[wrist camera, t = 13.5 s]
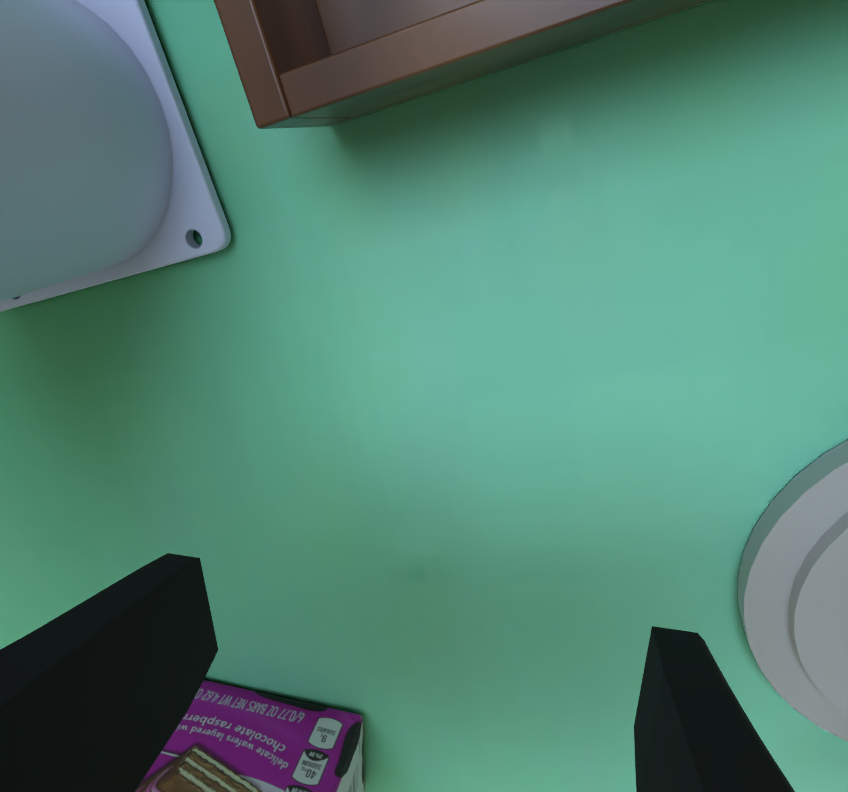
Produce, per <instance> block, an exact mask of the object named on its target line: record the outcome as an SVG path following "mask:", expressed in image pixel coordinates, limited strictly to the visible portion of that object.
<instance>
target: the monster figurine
mask: <svg viewBox="0 0 848 792" xmlns="http://www.w3.org/2000/svg"><path fill="white" fill-rule="evenodd" d="M738 605H739V610H740V614H741V619H742V623H743V627H744V630H745V633H746V637H747V640H748V643H749V646H750V648H751V650H752V652H753V655H754V657H755V659H756V661H757V664H758V666H759V668H760V670H761V671H762V672H763V674H764V675H765V677H766V678H767V679H768V681H769V682H770V684H771V685H772V686H773V688H774V689H775V690H776V691H777V692H778V693H779V694H780V695H781V696H782V697H783V698H784V699H785V700H786V701H787V702H788V703H789V704H790V705H791V706H792V707H793V708H794V709H795V710H797V711H798V712H799V713H801V714H802V715H803V716H805V717H806V718H808V719H809V720H810V721H812V722H813V723H814V724H816V725H817V726H819V727H821V728H823V729H825V730H826V731H828V732H830V733H832V734H834V735H836V736H838V737H839V738H841V739H843V740H845V741H848V440H846V441H845V442H843V443H841V444H840V445H838V446H836V447H834V448H833V449H831V450H829V451H828V452H826V453H824V454H823V455H822V456H820V457H819V458H818V459H817V460H815V461H814V462H813V463H811V464H810V465H809V466H808V467H806V468H805V469H804V470H803V471H801V472H800V473H799V474H797V475H796V476H795V477H794V478H793V479H792V480H791V481H790V482H789V483H788V484H787V485H786V486H785V487H784V488H783V490H782V491H781V492H780V493H779V494H778V495H777V496H776V497H775V498H774V499H773V500H772V501H771V503H770V504H769V506H768V507H767V509H766V510H765V512H764V513H763V515H762V516H761V517H760V519H759V520H758V522H757V523H756V525H755V526H754V529H753V531H752V533H751V536H750V538H749V540H748V542H747V545H746V547H745V549H744V551H743V556H742V561H741V565H740V570H739V574H738Z"/></svg>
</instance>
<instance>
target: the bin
mask: <svg viewBox="0 0 848 792" xmlns="http://www.w3.org/2000/svg"><path fill="white" fill-rule="evenodd" d="M710 1H713V0H214V2H215V5H216V8H217V11H218V14H219V17H220V20H221V23H222V26H223V29H224V32H225V34H226V37H227V40H228V43H229V46H230V49H231V52H232V55H233V58H234V61H235V64H236V67H237V70H238V73H239V76H240V79H241V82H242V84H243V87H244V90H245V93H246V96H247V99H248V102H249V105H250V108H251V111H252V114H253V117H254V120H255V123H256V126H257V127H258V128H260V129H269V128H297V127H323V126H325V127H327V126H334V125H337V124H340V123H343V122H346V121H349V120H352V119H355V118H358V117H361V116H364V115H367V114H370V113H373V112H376V111H379V110H383V109H386V108H389V107H392V106H395V105H398V104H401V103H404V102H407V101H410V100H413V99H416V98H419V97H422V96H425V95H428V94H431V93H434V92H437V91H440V90H443V89H446V88H449V87H452V86H455V85H458V84H461V83H464V82H467V81H470V80H473V79H477V78H480V77H483V76H486V75H489V74H492V73H495V72H498V71H501V70H504V69H507V68H510V67H513V66H516V65H519V64H522V63H525V62H528V61H531V60H534V59H537V58H540V57H543V56H546V55H549V54H552V53H555V52H558V51H561V50H564V49H567V48H571V47H574V46H577V45H580V44H583V43H586V42H589V41H592V40H595V39H598V38H601V37H604V36H607V35H610V34H613V33H616V32H619V31H622V30H625V29H628V28H631V27H634V26H637V25H640V24H643V23H646V22H649V21H652V20H655V19H658V18H661V17H664V16H668V15H671V14H674V13H677V12H680V11H683V10H686V9H689V8H692V7H695V6H698V5H701V4H704V3H707V2H710Z"/></svg>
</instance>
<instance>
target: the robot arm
mask: <svg viewBox="0 0 848 792" xmlns="http://www.w3.org/2000/svg"><path fill="white" fill-rule="evenodd" d="M194 230H196V231H197V232H199V234H200V235H201V237H202V244H201V246H200V245H199V244H197V243H196V241H195V240H194V237H193V232H194ZM230 238H231V233H230V228H229V226H228V223H227V220H226V218H225V215H224V212H223V210H222V207H221V204H220V201H219V199H218V196H217V193H216V191H215V188H214V185H213V183H212V180H211V177H210V175H209V172H208V169H207V167H206V164H205V161H204V159H203V156H202V153H201V151H200V148H199V145H198V143H197V140H196V137H195V135H194V132H193V129H192V127H191V124H190V121H189V119H188V116H187V113H186V111H185V108H184V105H183V103H182V100H181V97H180V95H179V92H178V89H177V87H176V84H175V81H174V79H173V76H172V73H171V71H170V68H169V65H168V63H167V60H166V57H165V54H164V52H163V49H162V46H161V44H160V41H159V38H158V36H157V33H156V30H155V28H154V25H153V22H152V20H151V17H150V14H149V12H148V9H147V6H146V4H145V1H144V0H0V312H1V311H5V310H8V309H12V308H16V307H19V306H23V305H26V304H30V303H34V302H37V301H41V300H44V299H48V298H52V297H55V296H59V295H63V294H66V293H70V292H73V291H77V290H81V289H84V288H88V287H91V286H95V285H99V284H102V283H106V282H109V281H113V280H117V279H120V278H124V277H127V276H131V275H135V274H138V273H142V272H145V271H149V270H153V269H156V268H160V267H164V266H167V265H171V264H174V263H178V262H182V261H185V260H189V259H192V258H196V257H200V256H203V255H207V254H210V253H214V252H217V251H220V250H222V249H224V248H226V247H227V246H228V244H229V243H230ZM217 651H218V646H217V641H216V636H215V631H214V626H213V621H212V616H211V611H210V606H209V601H208V596H207V591H206V586H205V582H204V577H203V572H202V567H201V562H200V558H195V557H189V556H182V555H176V554H169V553H167V554H166V555H164V556H162V557H160V558H158V559H156V560H154V561H152V562H151V563H149V564H147V565H145V566H143V567H142V568H140V569H138V570H136V571H135V572H133V573H131V574H130V575H128V576H126V577H124V578H123V579H121V580H119V581H118V582H116V583H114V584H113V585H111V586H109V587H108V588H106V589H104V590H103V591H101V592H99V593H97V594H96V595H94V596H92V597H91V598H89V599H87V600H86V601H84V602H82V603H81V604H79V605H77V606H76V607H74V608H72V609H70V610H69V611H67V612H65V613H64V614H62V615H60V616H59V617H57V618H55V619H54V620H52V621H50V622H48V623H47V624H45V625H43V626H42V627H40V628H38V629H37V630H35V631H33V632H31V633H30V634H28V635H26V636H24V637H22V638H21V639H19V640H17V641H15V642H13V643H12V644H10V645H8V646H6V647H4V648H3V649H1V650H0V792H135V791H136V789H137V788H138V786H139V785H140V783H141V782H142V780H143V779H144V777H145V776H146V774H147V773H148V771H149V770H150V768H151V767H152V765H153V764H154V762H155V761H156V759H157V758H158V756H159V754H160V753H161V751H162V750H163V748H164V747H165V745H166V744H167V742H168V741H169V739H170V737H171V736H172V734H173V733H174V731H175V730H176V728H177V727H178V725H179V724H180V722H181V720H182V719H183V717H184V716H185V714H186V713H187V711H188V709H189V707H190V706H191V704H192V702H193V700H194V698H195V696H196V694H197V692H198V690H199V688H200V686H201V684H202V682H203V680H204V678H205V676H206V674H207V672H208V670H209V668H210V666H211V664H212V662H213V659H214V657H215V655H216V653H217ZM634 740H635V768H636V790H637V792H795V791H794V790H793V788H792V787H791V785H790V784H789V782H788V780H787V779H786V777H785V776H784V774H783V773H782V771H781V770H780V768H779V767H778V765H777V763H776V762H775V760H774V759H773V757H772V756H771V754H770V753H769V751H768V750H767V748H766V746H765V745H764V743H763V742H762V740H761V738H760V737H759V735H758V734H757V732H756V730H755V729H754V727H753V725H752V724H751V722H750V720H749V719H748V717H747V715H746V714H745V712H744V710H743V709H742V707H741V705H740V704H739V702H738V700H737V699H736V697H735V695H734V693H733V692H732V690H731V688H730V687H729V685H728V683H727V681H726V680H725V678H724V676H723V674H722V672H721V671H720V669H719V667H718V665H717V663H716V662H715V660H714V658H713V656H712V654H711V652H710V650H709V649H708V647H707V645H706V643H705V641H704V640H703V639H702V637H701V636H700V635H699V634H698V633H694V632H687V631H681V630H674V629H667V628H661V627H654V626H652V629H651V635H650V640H649V646H648V651H647V657H646V662H645V668H644V674H643V679H642V685H641V690H640V696H639V701H638V707H637V712H636V718H635V724H634Z"/></svg>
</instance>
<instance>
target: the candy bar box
mask: <svg viewBox="0 0 848 792" xmlns="http://www.w3.org/2000/svg"><path fill="white" fill-rule="evenodd" d="M363 740H364V727H363V717H362V715H360V714H355V713H350V712H346V711H342V710H337V709H333V708H328V707H323V706H318V705H314V704H310V703H306V702H301V701H296V700H292V699H287V698H283V697H279V696H274V695H270V694H265V693H261V692H256V691H252V690H247V689H243V688H238V687H234V686H229V685H225V684H220V683H216V682H211V681H207V680H203V682H202V684H201V686H200V688H199V690H198V692H197V694H196V696H195V698H194V700H193V702H192V704H191V706H190V707H189V709H188V711H187V713H186V714H185V716H184V717H183V719H182V720H181V722H180V724H179V725H178V727H177V728H176V730H175V731H174V733H173V734H172V736H171V737H170V739H169V741H168V742H167V744H166V745H165V747H164V748H163V750H162V751H161V753H160V754H159V756H158V758H157V759H156V761H155V762H154V764H153V765H152V767H151V768H150V770H149V771H148V773H147V774H146V776H145V777H144V779H143V780H142V782H141V783H140V785H139V786H138V788H137V789H136V791H135V792H364V787H365V782H364V764H363Z"/></svg>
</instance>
